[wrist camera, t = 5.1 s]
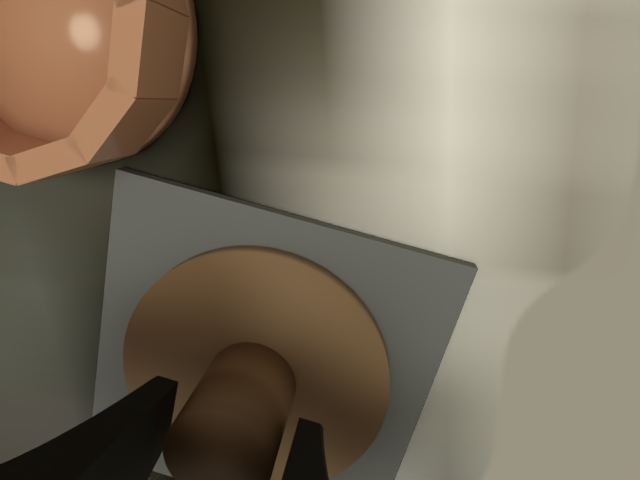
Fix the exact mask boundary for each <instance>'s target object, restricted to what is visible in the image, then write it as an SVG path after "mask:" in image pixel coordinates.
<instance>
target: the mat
mask: <svg viewBox="0 0 640 480" xmlns="http://www.w3.org/2000/svg"><path fill="white" fill-rule="evenodd" d="M238 245H248V246H263V247H270V248H277V249H280V250H284V251H288V252H291V253H295V254H297V255H300V256H302V257H304V258H307V259H309V260H312V261H313V262H315V263H317V264H319V265H321V266H322V267H324V268H326V269H328V270H329V271H330V272H332V273H333V274H335V275H336V276H337V277H339V278H340V279H341V280H343V281H344V282H345V283H346V284H347V285H348V286H349V287H350V288H351V289H352V290H353V291H354V292H355V293H356V294H357V295H358V296H359V297H360V299H361V300H362V301H363V302H364V303H365V305H366V306H367V307H368V309H369V311H370V312H371V314H372V315H373V317H374V319H375V320H376V322H377V324H378V327H379V329H380V331H381V333H382V336H383V338H384V342H385V346H386V349H387V353H388V361H389V369H390V398H389V403H388V409H387V413H386V416H385V419H384V422H383V425H382V427H381V429H380V431H379V433H378V435H377V437H376V438H375V440H374V442H373V443H372V444H371V446H370V447H369V448H368V449H367V451H366V452H365V453H364V454H363V455H362V456H361V457H360V458H359V459H358V460H357V461H356V462H355V463H353V464H352V465H351V466H349V467H348V468H347V469H345V470H344V471H342V472H340V473H339V474H337V475H335V476H333V477H331V478H329V480H394V479H395V477H396V474H397V472H398V469H399V467H400V464H401V462H402V459H403V457H404V454H405V452H406V449H407V447H408V444H409V441H410V439H411V436H412V434H413V431H414V429H415V426H416V424H417V421H418V419H419V416H420V414H421V411H422V409H423V406H424V404H425V401H426V399H427V396H428V393H429V391H430V388H431V386H432V383H433V381H434V378H435V376H436V373H437V371H438V368H439V366H440V363H441V361H442V358H443V356H444V353H445V351H446V348H447V345H448V343H449V340H450V338H451V335H452V333H453V330H454V328H455V325H456V323H457V320H458V318H459V315H460V313H461V310H462V308H463V305H464V303H465V300H466V297H467V295H468V292H469V290H470V287H471V285H472V282H473V280H474V277H475V275H476V272H477V270H478V268H477V267H476V265H475V264H473V263H469V262H465V261H462V260H458V259H455V258H451V257H447V256H444V255H440V254H436V253H433V252H429V251H425V250H422V249H418V248H415V247H411V246H407V245H404V244H400V243H396V242H393V241H389V240H386V239H382V238H378V237H375V236H371V235H367V234H364V233H360V232H356V231H353V230H349V229H346V228H342V227H338V226H335V225H331V224H327V223H324V222H320V221H317V220H313V219H309V218H306V217H302V216H298V215H295V214H291V213H287V212H284V211H280V210H277V209H273V208H269V207H266V206H262V205H258V204H255V203H251V202H247V201H244V200H240V199H237V198H233V197H229V196H226V195H222V194H218V193H215V192H211V191H208V190H204V189H200V188H197V187H193V186H189V185H186V184H182V183H178V182H175V181H171V180H168V179H164V178H160V177H157V176H153V175H149V174H146V173H142V172H139V171H135V170H131V169H128V168H124V167H122V168H118V169H116V171H115V182H114V192H113V203H112V213H111V224H110V235H109V245H108V256H107V266H106V277H105V288H104V298H103V309H102V320H101V330H100V341H99V351H98V362H97V373H96V383H95V394H94V405H93V415H92V417H93V416H95V415H96V414H98V413H99V412H101V411H103V410H104V409H106V408H108V407H109V406H111V405H112V404H114V403H116V402H117V401H119V400H120V399H122V398H123V397H125V396H126V395H128V394H129V390H128V387H127V383H126V379H125V373H124V368H123V347H124V338H125V334H126V330H127V326H128V323H129V320H130V318H131V316H132V314H133V311H134V309H135V308H136V306H137V304H138V303H139V301H140V300H141V298H142V297H143V295H144V294H145V293H146V292H147V291H148V290H149V289H150V288H151V287H152V285H153V284H154V283H156V282H157V281H158V280H159V279H161V278H162V277H163V276H164V275H166V274H167V273H168V272H169V271H171V270H172V269H173V268H174V267H176V266H177V265H179V264H180V263H182V262H184V261H186V260H187V259H189V258H191V257H193V256H196V255H198V254H201V253H203V252H206V251H210V250H214V249H218V248H221V247H230V246H238ZM152 471H154V472H158V473H161V474H164V475H167V476H171V477H172V475H171V474H170V472H169V470H168V468H167V466H166V464H165V461H164V457H163V451H162V453H161V455H160V457H159V459H158V461H157V463H156V465H155V466H154V468H153V470H152Z"/></svg>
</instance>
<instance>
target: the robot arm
mask: <svg viewBox="0 0 640 480" xmlns="http://www.w3.org/2000/svg"><path fill="white" fill-rule="evenodd" d="M177 387H178V381H175V380H171V379H168V378H165V377H161V376H156V377H154V378H152V379H151V380H149V381H148V382H146V383H145V384H143V385H142V386H140V387H139V388H137V389H136V390H134V391H133V392H131V393H129V394H128V395H126V396H125V397H123V398H122V399H120V400H119V401H117V402H116V403H114V404H112V405H111V406H109V407H108V408H106V409H104V410H103V411H101V412H99V413H98V414H96V415H95V416H93V417H91V418H90V419H88V420H86V421H85V422H83V423H81V424H79V425H77V426H76V427H74V428H72V429H70V430H69V431H67V432H65V433H63V434H61V435H60V436H58V437H56V438H54V439H52V440H50V441H48V442H46V443H44V444H43V445H41V446H39V447H37V448H35V449H33V450H30V451H28V452H26V453H24V454H22V455H20V456H18V457H16V458H14V459H11V460H9V461H7V462H5V463H2V464H0V480H147V479H148V477H149V476H150V474H151V472H152V470H153V468H154V466H155V465H156V463H157V461H158V459H159V457H160V455H161V453H162V451H163V441H164V438H165V435H166V433H167V431H168V429H169V428H170V426H171V423H172V417H173V411H174V405H175V399H176V393H177ZM323 429H324V428H323V427H322V425H321V424H320V423H317V422H313V421H310V420H307V419H303V418H300V417H299V420H298V424H297V427H296V431H295V434H294V438H293V441H292V445H291V448H290V452H289V455H288V459H287V462H286V466H285V469H284V473H283V476H282V480H329V477H328V471H327V465H326V458H325V450H324V437H323Z"/></svg>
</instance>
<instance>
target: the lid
mask: <svg viewBox="0 0 640 480" xmlns="http://www.w3.org/2000/svg"><path fill="white" fill-rule="evenodd" d="M123 368H124V373H125V379H126V383H127V387H128V390H129V393H131V392H133V391H134V390H136V389H137V388H139V387H140V386H142V385H143V384H145V383H146V382H148V381H149V380H151V379H152V378H154V377H156V376H161V377H165V378H168V379H171V380H175V381H178V387H177V393H176V399H175V405H174V411H173V417H172V423H171V426H170V428H169V429H168V431H167V433H166V435H165V438H164V441H163V457H164V461H165V464H166V466H167V468H168V470H169V472H170V474H171V475H172V477H173V478H174V479H175V480H282V476H283V473H284V469H285V466H286V462H287V459H288V455H289V452H290V448H291V445H292V441H293V438H294V434H295V431H296V427H297V424H298V420H299V417H300V418H303V419H307V420H310V421H313V422H317V423H320V424H321V425H322V427H323V428H324V429H323V437H324V450H325V458H326V465H327V471H328V477H329V478H331V477H333V476H335V475H337V474H339V473H340V472H342V471H344V470H345V469H347V468H348V467H349V466H351V465H352V464H353V463H355V462H356V461H357V460H358V459H359V458H360V457H361V456H362V455H363V454H364V453H365V452H366V451H367V449H368V448H369V447H370V446H371V444H372V443H373V442H374V440H375V438H376V437H377V435H378V433H379V431H380V429H381V427H382V425H383V422H384V419H385V416H386V413H387V409H388V403H389V398H390V369H389V361H388V353H387V349H386V346H385V342H384V338H383V336H382V333H381V331H380V329H379V327H378V324H377V322H376V320H375V319H374V317H373V315H372V314H371V312H370V311H369V309H368V307H367V306H366V305H365V303H364V302H363V301H362V300H361V299H360V297H359V296H358V295H357V294H356V293H355V292H354V291H353V290H352V289H351V288H350V287H349V286H348V285H347V284H346V283H345V282H344V281H343V280H341V279H340V278H339V277H337V276H336V275H335V274H333V273H332V272H330V271H329V270H328V269H326V268H324V267H322V266H321V265H319V264H317V263H315V262H313V261H312V260H309V259H307V258H304V257H302V256H300V255H297V254H295V253H291V252H288V251H284V250H280V249H277V248H270V247H263V246H248V245H238V246H230V247H221V248H218V249H214V250H210V251H206V252H203V253H201V254H198V255H196V256H193V257H191V258H189V259H187V260H186V261H184V262H182V263H180V264H179V265H177V266H176V267H174V268H173V269H172V270H171V271H169V272H168V273H167V274H166V275H164V276H163V277H162V278H161V279H159V280H158V281H157V282H156V283H154V284H153V285H152V287H151V288H150V289H149V290H148V291H147V292H146V293H145V294H144V295H143V297H142V298H141V300H140V301H139V303H138V304H137V306H136V308H135V309H134V311H133V314H132V316H131V318H130V320H129V323H128V326H127V330H126V334H125V338H124V347H123Z"/></svg>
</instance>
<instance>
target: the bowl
mask: <svg viewBox="0 0 640 480" xmlns="http://www.w3.org/2000/svg"><path fill="white" fill-rule="evenodd" d="M197 46H198V36H197V19H196V13H195V6H194V1H193V0H0V181H1V182H4V183H8V184H11V185H15V186H19V185H23V184H28V183H32V182H36V181H40V180H45V179H49V178H53V177H58V176H62V175H66V174H71V173H75V172H78V171H82V170H85V169H88V168H92V167H95V166H98V165H101V164H105V163H108V162H113V161H117V160H121V159H124V158H126V157H129V156H131V155H134V154H136V153H138V152H139V151H141V150H143V149H145V148H146V147H148V146H149V145H150V144H152V143H153V142H154V141H155V140H157V139H158V138H159V137H160V136H161V135H162V134H163V133H164V132H165V131H166V129H167V128H168V127H169V126H170V125H171V123H172V122H173V120H174V119H175V118H176V116H177V115H178V113H179V112H180V110H181V108H182V106H183V103H184V101H185V99H186V97H187V95H188V92H189V89H190V86H191V83H192V80H193V75H194V70H195V65H196V58H197Z"/></svg>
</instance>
